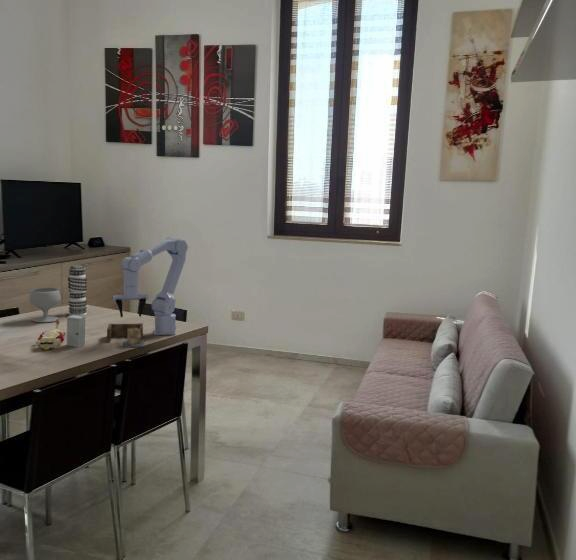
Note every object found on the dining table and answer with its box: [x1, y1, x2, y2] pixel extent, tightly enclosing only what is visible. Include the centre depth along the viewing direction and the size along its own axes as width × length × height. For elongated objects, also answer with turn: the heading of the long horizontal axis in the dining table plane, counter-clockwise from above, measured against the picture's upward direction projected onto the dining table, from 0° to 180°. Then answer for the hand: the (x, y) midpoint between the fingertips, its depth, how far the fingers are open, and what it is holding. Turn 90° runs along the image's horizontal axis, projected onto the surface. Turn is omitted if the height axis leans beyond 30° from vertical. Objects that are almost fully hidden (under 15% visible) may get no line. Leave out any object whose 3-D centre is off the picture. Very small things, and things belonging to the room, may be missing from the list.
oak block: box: [126, 328, 141, 345], centre depth 231 cm, size 4×4×6 cm
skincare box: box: [66, 315, 86, 348], centre depth 226 cm, size 6×4×12 cm
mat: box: [123, 340, 145, 349], centre depth 231 cm, size 8×8×1 cm
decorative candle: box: [67, 264, 88, 317], centre depth 280 cm, size 9×9×25 cm
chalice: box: [28, 287, 62, 323], centre depth 265 cm, size 14×14×15 cm
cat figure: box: [35, 318, 66, 350], centre depth 229 cm, size 10×9×25 cm
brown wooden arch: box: [106, 322, 144, 343], centre depth 240 cm, size 14×10×6 cm
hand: (130, 316), depth 237 cm, fingers open, 7 cm apart
